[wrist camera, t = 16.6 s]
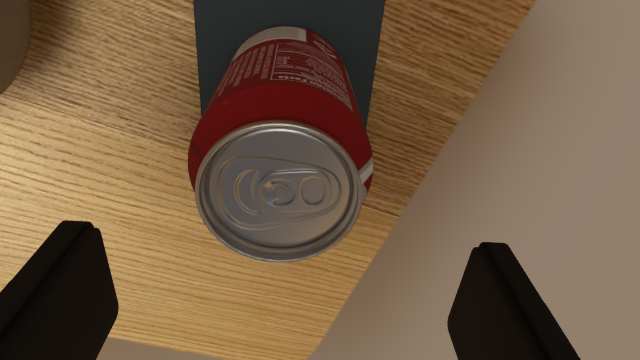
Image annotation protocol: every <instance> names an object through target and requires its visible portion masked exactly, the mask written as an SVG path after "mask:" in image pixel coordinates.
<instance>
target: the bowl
mask: <svg viewBox="0 0 640 360" xmlns="http://www.w3.org/2000/svg"><path fill="white" fill-rule="evenodd" d="M31 28H32V10H31V0H0V95H1V94H2V93H3V92H4V91H5V90H6V89H7V88H8V87H9V86H10V85H11V83H12V82H13V81H14V79H15V78H16V76H17V75H18V73H19V71H20V69H21V67H22V65H23V63H24V60H25V57H26V54H27V51H28V47H29V42H30V37H31Z"/></svg>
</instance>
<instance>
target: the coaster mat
mask: <svg viewBox="0 0 640 360" xmlns="http://www.w3.org/2000/svg"><path fill="white" fill-rule="evenodd" d="M193 2H194V16H195V30H196V44H197V58H198V72H199V87H200V101H201V115H203V113H204V112H205V110H206V108H207V106H208V104H209V102H210V100H211V98H212V96H213V94H214V93H215V91H216V89H217V87H218V85H219V83H220V81H221V79H222V77H223V75H224V74H225V72H226V70H227V68H228V66H229V64H230V62H231V60H232V58H233V56H234V55H235V53H236V51H237V50H238V49H239V47H240V46H241V45H242V44H243V43H244V42H245V41H246V40H247V39H248V38H249V37H251V36H252V35H254V34H255V33H257V32H259V31H261V30H264V29H266V28H270V27H274V26H282V25H291V26H298V27H302V28H306V29H309V30H311V31H313V32H315V33H317V34H319V35H320V36H322V37H323V38H324V39H326V40H327V41H328V42H329V43H330V44H331V45H332V46H333V47H334V48H335V50H336V51H337V52H338V54H339V55H340V57H341V59H342V61H343V63H344V66H345V69H346V72H347V75H348V78H349V81H350V84H351V87H352V90H353V93H354V96H355V99H356V102H357V105H358V108H359V111H360V115H361V118H362V121H363V124H364V127H365V130H366V124H367V118H368V111H369V104H370V98H371V91H372V85H373V78H374V71H375V65H376V58H377V51H378V45H379V38H380V32H381V25H382V18H383V12H384V5H385V0H193Z"/></svg>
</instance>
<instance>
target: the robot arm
mask: <svg viewBox="0 0 640 360" xmlns="http://www.w3.org/2000/svg"><path fill="white" fill-rule="evenodd" d="M118 307H119V306H118V300H117V296H116V292H115V288H114V284H113V280H112V276H111V272H110V268H109V264H108V260H107V256H106V252H105V248H104V243H103V239H102V235H101V232H100V230H99V229H98V228H94V226H93V224H92V223H91V222H86V221H67V220H65V221H62V222H61V223H60V224H59V225H58V226H57V227H56V229H55V230H54V231H53V232H52V233H51V234H50V236H49V237H48V238H47V239H46V240H45V242H44V243H43V244H42V245H41V246H40V247H39V249H38V250H37V251H36V252H35V253H34V254H33V256H32V257H31V258H30V259H29V260H28V262H27V263H26V264H25V265H24V266H23V267H22V269H21V270H20V271H19V272H18V273H17V274H16V276H15V277H14V278H13V279H12V280H11V281H10V282H9V283H8V284H7V285H6V286H5V288H4V289H3V290H2V291H1V292H0V360H96V358H97V356H98V354H99V352H100V350H101V348H102V346H103V344H104V342H105V340H106V338H107V336H108V334H109V332H110V330H111V328H112V326H113V324H114V322H115V320H116V318H117V315H118ZM448 331H449V334H450V337H451V340H452V343H453V346H454V349H455V352H456V354H457V357H458V360H580V358H579V357H578V355H577V353H576V352H575V350H574V348H573V347H572V345H571V344H570V342H569V340H568V339H567V337H566V336H565V334H564V333H563V331H562V329H561V328H560V326H559V324H558V323H557V322H556V320H555V318H554V317H553V315H552V314H551V312H550V310H549V309H548V307H547V306H546V304H545V303H544V302H543V300H542V299H541V297H540V295H539V294H538V292H537V291H536V289H535V287H534V286H533V284H532V283H531V281H530V279H529V278H528V276H527V275H526V273H525V272H524V270H523V268H522V267H521V265H520V264H519V262H518V260H517V259H516V257H515V256H514V254H513V252H512V251H511V249H510V248H509V246H508V245H507V244H505V243H493V242H482V243H481V244H480V245H479V247H475V248H473V250H472V252H471V255H470V257H469V260H468V263H467V266H466V269H465V271H464V274H463V277H462V280H461V283H460V286H459V288H458V291H457V294H456V297H455V300H454V302H453V305H452V308H451V311H450V314H449V316H448Z"/></svg>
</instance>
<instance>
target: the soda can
mask: <svg viewBox="0 0 640 360" xmlns="http://www.w3.org/2000/svg"><path fill="white" fill-rule="evenodd" d="M188 171H189V177H190V181H191V184H192V187H193V190H194V192H195V199H196V205H197V208H198V211H199V214H200V216H201V218H202V220H203V222H204V224H205V225H206V227H207V228H208V229H209V231H210V232H211V233H212V234H213V235H214V236H215V237H216V238H217V239H218V240H219V241H220V242H222V243H223V244H224V245H226V246H227V247H229V248H230V249H232V250H234V251H236V252H238V253H240V254H242V255H244V256H247V257H250V258H253V259H257V260H262V261H268V262H293V261H300V260H304V259H308V258H311V257H314V256H316V255H319V254H321V253H323V252H325V251H327V250H329V249H330V248H332V247H333V246H335V245H336V244H337V243H339V242H340V241H341V240H342V239H343V238H344V237H345V236H346V235H347V234H348V232H349V231H350V230H351V228H352V227H353V225H354V224H355V222H356V220H357V218H358V215H359V212H360V209H361V205H362V203H363V201H364V199H365V197H366V195H367V193H368V190H369V188H370V185H371V180H372V174H373V156H372V150H371V145H370V142H369V139H368V136H367V133H366V130H365V127H364V124H363V121H362V118H361V115H360V111H359V108H358V105H357V102H356V99H355V96H354V93H353V90H352V87H351V84H350V81H349V78H348V75H347V72H346V69H345V66H344V63H343V61H342V59H341V57H340V55H339V54H338V52H337V51H336V50H335V48H334V47H333V46H332V45H331V44H330V43H329V42H328V41H327V40H326V39H324V38H323V37H322V36H320V35H319V34H317V33H315V32H313V31H311V30H309V29H306V28H302V27H298V26H291V25H282V26H274V27H270V28H266V29H264V30H261V31H259V32H257V33H255V34H254V35H252V36H251V37H249V38H248V39H247V40H246V41H245V42H244V43H243V44H242V45H241V46H240V47H239V49H238V50H237V51H236V53H235V55H234V56H233V58H232V60H231V62H230V64H229V66H228V68H227V70H226V72H225V74H224V75H223V77H222V79H221V81H220V83H219V85H218V87H217V89H216V91H215V93H214V94H213V96H212V98H211V100H210V102H209V104H208V106H207V108H206V110H205V112H204V113H203V115H202V117H201V119H200V121H199V123H198V125H197V127H196V129H195V131H194V133H193V136H192V139H191V142H190V146H189V152H188Z"/></svg>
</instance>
